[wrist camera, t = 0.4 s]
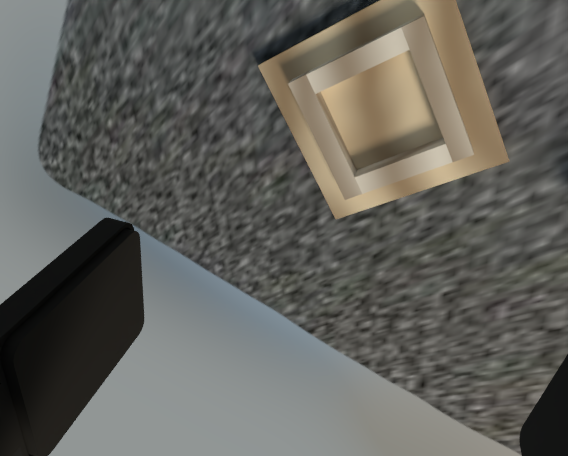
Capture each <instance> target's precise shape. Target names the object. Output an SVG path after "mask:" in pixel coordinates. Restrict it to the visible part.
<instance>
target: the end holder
mask: <svg viewBox="0 0 568 456" xmlns="http://www.w3.org/2000/svg"><path fill="white" fill-rule="evenodd" d="M258 67H259V69H260V71H261V73H262V75H263V77H264V79H265V81H266V83H267V85H268V87H269V89H270V90H271V92H272V94H273V96H274V98H275V100H276V102H277V104H278V106H279V108H280V110H281V112H282V114H283V116H284V118H285V120H286V122H287V124H288V126H289V128H290V130H291V132H292V134H293V136H294V138H295V140H296V142H297V144H298V146H299V148H300V150H301V152H302V154H303V156H304V158H305V160H306V162H307V163H308V165H309V167H310V169H311V171H312V173H313V175H314V177H315V179H316V181H317V183H318V185H319V187H320V189H321V191H322V193H323V195H324V197H325V199H326V201H327V203H328V205H329V207H330V209H331V211H332V213H333V215H334V217H335V219H338V218H341V217H344V216H347V215H350V214H353V213H356V212H359V211H362V210H365V209H368V208H371V207H374V206H377V205H380V204H383V203H386V202H389V201H392V200H395V199H398V198H401V197H404V196H407V195H410V194H413V193H416V192H419V191H422V190H425V189H428V188H431V187H434V186H437V185H440V184H443V183H446V182H449V181H452V180H455V179H458V178H461V177H464V176H467V175H470V174H473V173H476V172H479V171H482V170H485V169H488V168H491V167H494V166H497V165H500V164H503V163H506V162H509V159H508V156H507V153H506V150H505V147H504V144H503V141H502V138H501V135H500V132H499V129H498V126H497V123H496V120H495V117H494V114H493V111H492V108H491V105H490V102H489V99H488V96H487V93H486V90H485V87H484V84H483V81H482V78H481V75H480V72H479V69H478V66H477V63H476V60H475V57H474V54H473V51H472V48H471V45H470V42H469V39H468V36H467V33H466V30H465V27H464V24H463V21H462V18H461V15H460V12H459V9H458V6H457V3H456V0H379V1H377V2H375V3H373V4H371V5H369V6H368V7H366V8H364V9H362V10H360V11H358V12H356V13H354V14H353V15H351V16H349V17H347V18H345V19H343V20H341V21H339V22H338V23H336V24H334V25H332V26H330V27H328V28H326V29H324V30H323V31H321V32H319V33H317V34H315V35H313V36H311V37H309V38H308V39H306V40H304V41H302V42H300V43H298V44H296V45H294V46H293V47H291V48H289V49H287V50H285V51H283V52H281V53H279V54H278V55H276V56H274V57H272V58H270V59H268V60H266V61H264V62H263V63H261V64H259V65H258Z"/></svg>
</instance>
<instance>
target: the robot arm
mask: <svg viewBox="0 0 568 456" xmlns="http://www.w3.org/2000/svg"><path fill="white" fill-rule="evenodd" d="M141 268H142V267H141V250H140V236H139V233H138V232H137V231H134V227H133V226H132V224H130V223H127V222H123V221H119V220H115V219H111V218H104V219H103V220H101V221H100V222H99V223H98V224H97V225H95V226H94V227H93V228H92V229H90V230H89V231H88V232H87V233H86V234H84V235H83V236H82V237H81V238H80V239H78V240H77V241H76V242H75V243H74V244H72V245H71V246H70V247H69V248H68V249H66V250H65V251H64V252H63V253H62V254H60V255H59V256H58V257H57V258H56V259H55V260H53V261H52V262H51V263H50V264H48V265H47V266H46V267H45V268H44V269H43V270H41V271H40V272H39V273H38V274H37V275H35V276H34V277H33V278H32V279H31V280H29V281H28V282H27V283H26V284H25V285H23V286H22V287H21V288H20V289H19V290H17V291H16V292H15V293H14V294H13V295H11V296H10V297H9V298H8V299H7V300H5V301H4V302H3V303H2V304H1V305H0V456H48V455H49V454H50V453H51V452H52V450H53V449H54V448H55V447H56V445H57V444H58V443H59V441H60V440H61V439H62V437H63V435H64V434H65V433H66V432H67V430H68V429H69V428H70V426H71V425H72V424H73V422H74V421H75V420H76V418H77V417H78V415H79V414H80V413H81V412H82V410H83V409H84V408H85V406H86V405H87V404H88V402H89V401H90V400H91V398H92V397H93V396H94V394H95V393H96V392H97V390H98V389H99V387H100V386H101V385H102V383H103V382H104V381H105V379H106V378H107V377H108V375H109V374H110V373H111V371H112V370H113V369H114V367H115V366H116V365H117V363H118V362H119V361H120V359H121V358H122V357H123V355H124V354H125V353H126V351H127V350H128V349H129V347H130V346H131V344H132V343H133V342H134V340H135V339H136V338H137V336H138V335H139V334H140V332H141V330H142V327H143V324H144V304H143V286H142V269H141ZM520 448H521V453H522V456H568V355H567V356H566V358H565V359H564V361H563V363H562V364H561V366H560V367H559V369H558V371H557V372H556V374H555V375H554V377H553V378H552V380H551V382H550V383H549V385H548V386H547V388H546V390H545V391H544V393H543V394H542V396H541V398H540V399H539V401H538V402H537V404H536V405H535V407H534V409H533V410H532V412H531V413H530V415H529V417H528V418H527V420H526V421H525V423H524V425H523V426H522V429H521V432H520Z"/></svg>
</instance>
